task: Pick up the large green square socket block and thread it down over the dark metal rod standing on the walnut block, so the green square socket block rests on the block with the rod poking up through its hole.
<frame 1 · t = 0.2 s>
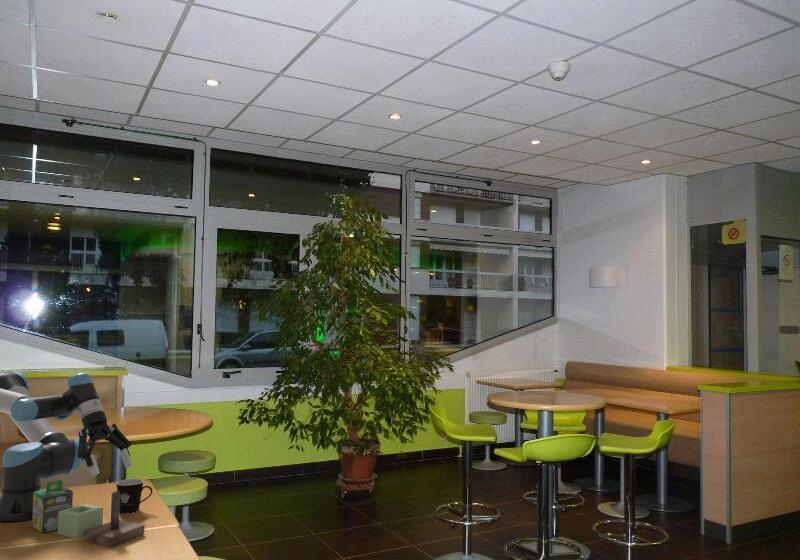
hand: (113, 471, 215), 15 cm above the table, tool tilted 35°, fingers open, 13 cm apart
rod stand: (114, 538, 195), on the table
chalk box: (51, 527, 204), on the table
green square socket block: (80, 531, 200), on the table
coffee mug: (131, 512, 221), on the table
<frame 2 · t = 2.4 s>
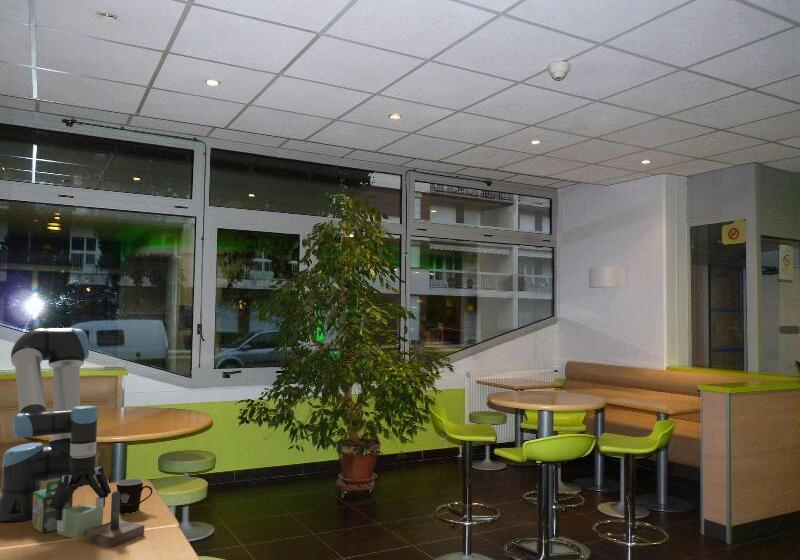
hand: (80, 524, 200), 2 cm above the table, tool pointing down, fingers open, 13 cm apart
nothing on the table moved.
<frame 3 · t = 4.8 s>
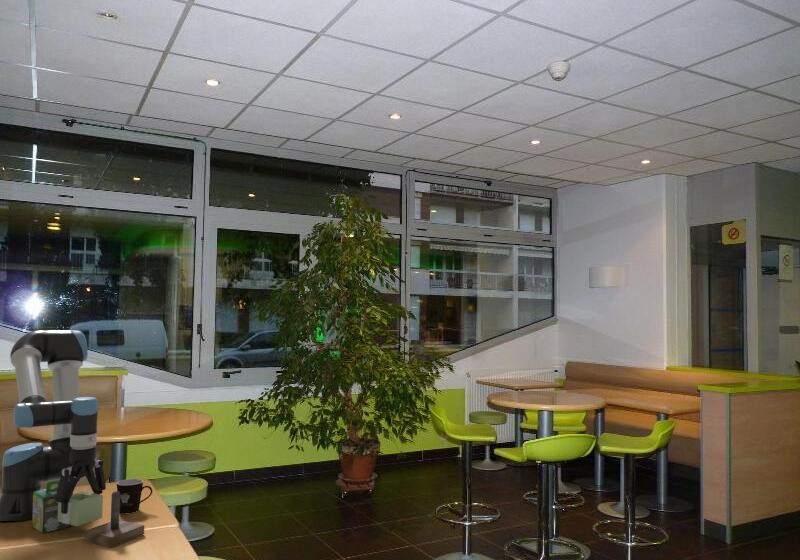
hand: (80, 518, 201), 4 cm above the table, tool pointing down, fingers closed on green square socket block, 9 cm apart
green square socket block: (79, 519, 201), point 4 cm above the table, touching gripper
everything else where it was.
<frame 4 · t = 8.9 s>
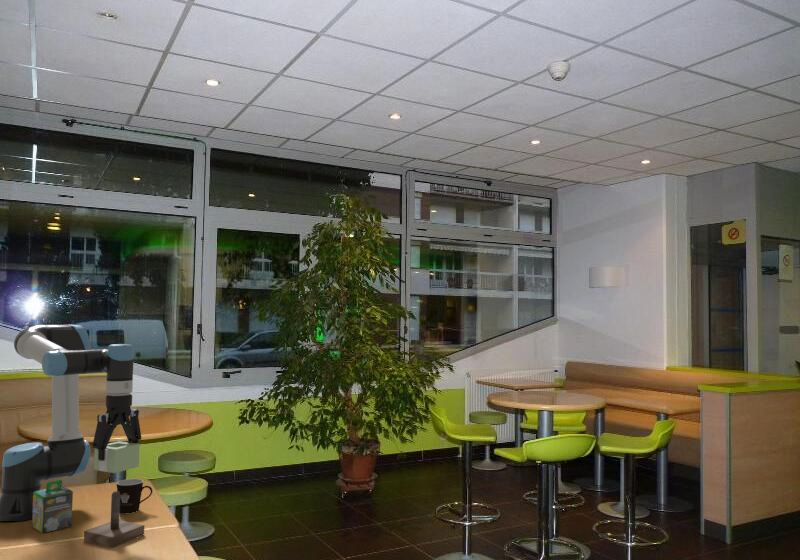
hand: (116, 467, 196), 21 cm above the table, tool pointing down, fingers closed on green square socket block, 9 cm apart
green square socket block: (116, 468, 196), point 21 cm above the table, touching gripper
everything else where it was.
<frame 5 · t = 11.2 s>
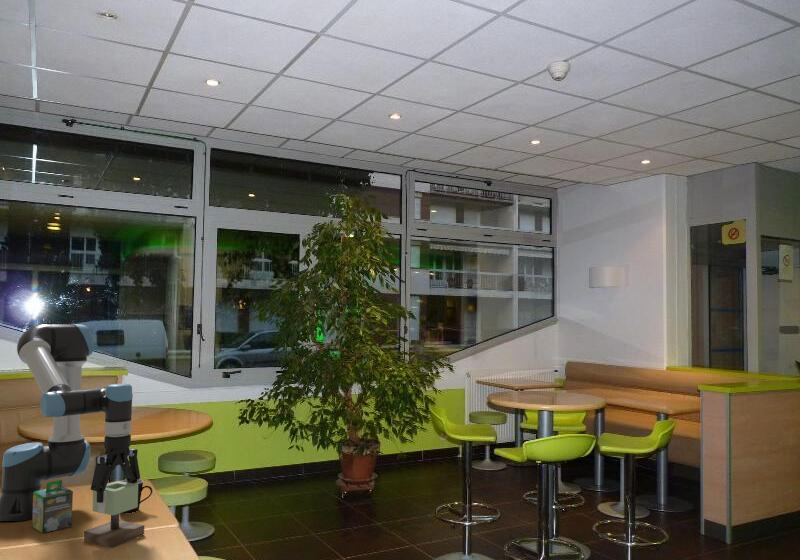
hand: (115, 508, 195), 9 cm above the table, tool pointing down, fingers closed on green square socket block, 9 cm apart
green square socket block: (115, 509, 195), point 9 cm above the table, touching gripper
everything else where it was.
when the fingers open (5 cm above the table, at t = 13.2 s): green square socket block drops 2 cm, resting on rod stand.
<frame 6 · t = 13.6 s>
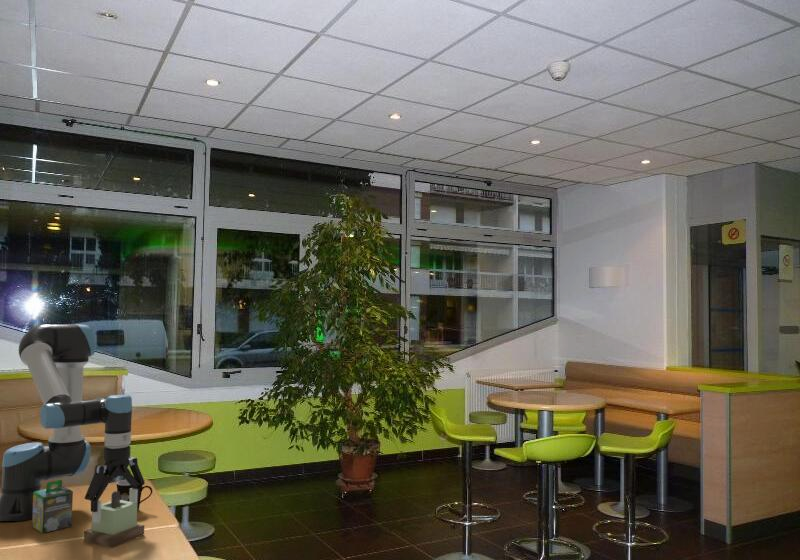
hand: (115, 515, 195), 7 cm above the table, tool pointing down, fingers open, 13 cm apart
green square socket block: (114, 528, 195), point 3 cm above the table, touching rod stand
everything else where it was.
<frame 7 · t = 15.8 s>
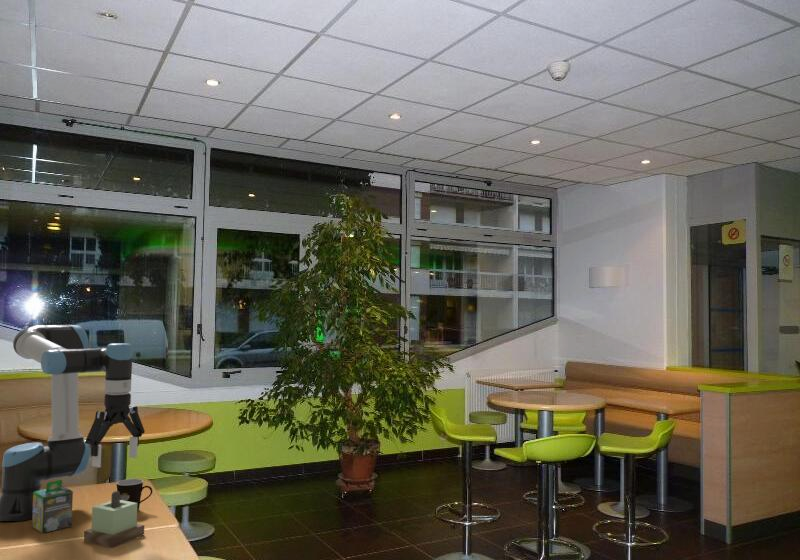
hand: (115, 462, 197), 23 cm above the table, tool pointing down, fingers open, 13 cm apart
nothing on the table moved.
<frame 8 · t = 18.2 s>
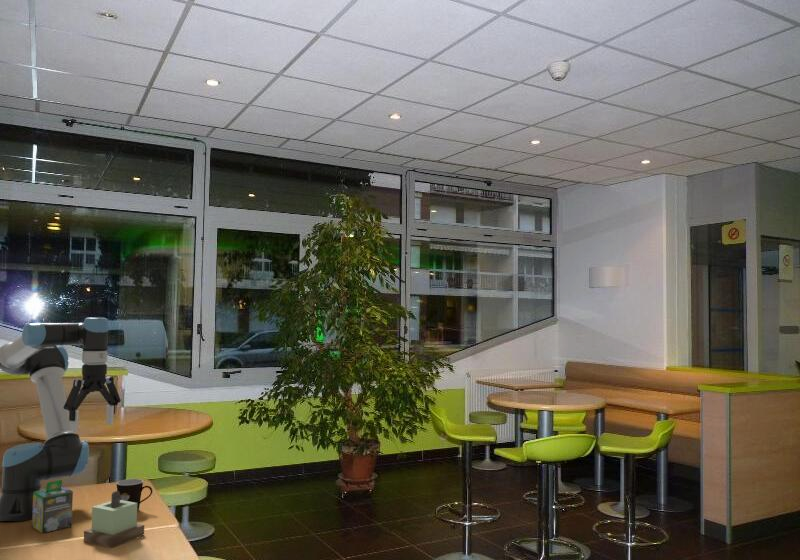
hand: (92, 427, 212), 31 cm above the table, tool pointing down, fingers open, 13 cm apart
nothing on the table moved.
at the end: green square socket block 0.1 cm off-centre on the rod stand, point 3.0 cm above the rod stand's base; green square socket block tilted 0°; the gripper is holding nothing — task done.
